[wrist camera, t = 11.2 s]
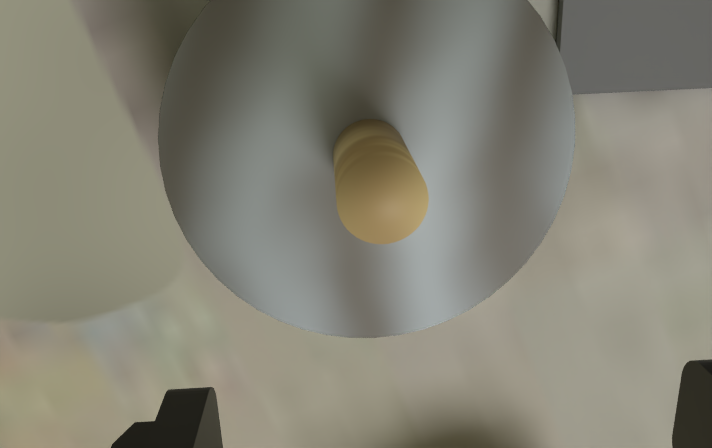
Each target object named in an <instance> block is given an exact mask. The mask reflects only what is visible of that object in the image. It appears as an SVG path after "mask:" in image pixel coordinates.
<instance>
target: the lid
mask: <svg viewBox="0 0 712 448" xmlns="http://www.w3.org/2000/svg"><path fill="white" fill-rule="evenodd" d="M158 144H159V157H160V167H161V172H162V177H163V181H164V186H165V191H166V194H167V197H168V200H169V202H170V205H171V208H172V211H173V214H174V216H175V218H176V220H177V222H178V224H179V226H180V228H181V230H182V232H183V234H184V236H185V238H186V240H187V241H188V243H189V244H190V245H191V247H192V248H193V250H194V251H195V253H196V254H197V256H198V257H199V258H200V260H201V261H202V262H203V263H204V265H205V266H206V267H207V268H208V269H209V270H210V271H211V272H212V273H213V275H214V276H215V277H216V278H217V279H218V280H219V281H220V282H221V283H223V284H224V285H225V286H226V287H227V288H228V289H229V290H231V291H232V292H233V293H234V294H235V295H236V296H238V297H239V298H241V299H242V300H244V301H245V302H247V303H248V304H250V305H251V306H253V307H254V308H256V309H257V310H259V311H261V312H263V313H265V314H267V315H269V316H271V317H273V318H275V319H277V320H279V321H281V322H284V323H287V324H289V325H292V326H295V327H298V328H300V329H303V330H308V331H312V332H316V333H320V334H325V335H331V336H340V337H349V338H377V337H386V336H395V335H401V334H406V333H410V332H414V331H418V330H423V329H426V328H429V327H431V326H434V325H437V324H440V323H442V322H445V321H448V320H450V319H452V318H454V317H456V316H458V315H460V314H462V313H464V312H466V311H468V310H470V309H471V308H473V307H474V306H476V305H477V304H479V303H480V302H482V301H484V300H485V299H487V298H488V297H490V296H491V295H492V294H493V293H495V292H496V291H497V290H498V289H499V288H501V287H502V286H503V285H504V284H505V283H507V282H508V281H509V280H510V279H511V278H512V277H513V276H514V275H515V274H516V273H517V272H518V271H519V269H520V268H521V267H522V266H523V265H524V264H525V263H526V262H527V261H528V259H529V258H530V257H531V255H532V254H533V253H534V251H535V250H536V249H537V247H538V246H539V245H540V243H541V242H542V240H543V239H544V237H545V235H546V233H547V232H548V230H549V228H550V226H551V225H552V223H553V221H554V219H555V217H556V214H557V212H558V210H559V207H560V205H561V202H562V200H563V198H564V195H565V191H566V188H567V184H568V180H569V177H570V173H571V168H572V161H573V154H574V147H575V113H574V105H573V97H572V90H571V87H570V83H569V79H568V75H567V71H566V67H565V64H564V62H563V60H562V57H561V55H560V52H559V50H558V48H557V45H556V43H555V40H554V39H553V37H552V35H551V34H550V32H549V30H548V28H547V27H546V25H545V23H544V22H543V20H542V18H541V17H540V15H539V14H538V13H537V11H536V10H535V9H534V8H533V6H532V5H531V4H530V3H529V1H528V0H211V1H210V2H209V3H208V4H207V5H206V6H205V7H204V9H203V10H202V12H201V13H200V14H199V16H198V17H197V19H196V20H195V22H194V23H193V24H192V26H191V27H190V29H189V30H188V32H187V34H186V36H185V38H184V39H183V41H182V43H181V45H180V47H179V49H178V51H177V53H176V55H175V57H174V60H173V63H172V66H171V69H170V71H169V74H168V77H167V80H166V83H165V87H164V92H163V97H162V102H161V107H160V115H159V132H158Z"/></svg>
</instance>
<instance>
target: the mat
mask: <svg viewBox="0 0 712 448" xmlns="http://www.w3.org/2000/svg"><path fill="white" fill-rule="evenodd" d="M556 45H557V48H558V50H559V52H560V55H561V57H562V60H563V62H564V64H565V67H566V71H567V75H568V79H569V83H570V87H571V90H572V94H591V93H613V92H634V91H655V90H677V89H698V88H712V0H559V13H558V28H557V43H556Z"/></svg>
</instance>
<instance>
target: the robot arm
mask: <svg viewBox="0 0 712 448" xmlns="http://www.w3.org/2000/svg"><path fill="white" fill-rule="evenodd" d="M672 445H673V448H712V360H695V361H689V362H687V363H686V365H685V366H684V368H683V371H682V376H681V383H680V389H679V396H678V402H677V409H676V415H675V422H674V428H673V435H672ZM111 448H223V444H222V437H221V429H220V421H219V413H218V406H217V398H216V393H215V390H214V388H213V387H206V388H189V389H171V390H168V391H167V392H166V394H165V396H164V399H163V401H162V404H161V407H160V409H159V412H158V415H157V417H156V420H155V421H151V422H135V423H134V424H133V425H132V426H131V427H130V428H129V429H128V430H127V431H125V432H124V433H123V434H122V435H121V436H120V437H119V438H118V439H117V440H116V441H115V442H114V443H113V444H112V446H111Z"/></svg>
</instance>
